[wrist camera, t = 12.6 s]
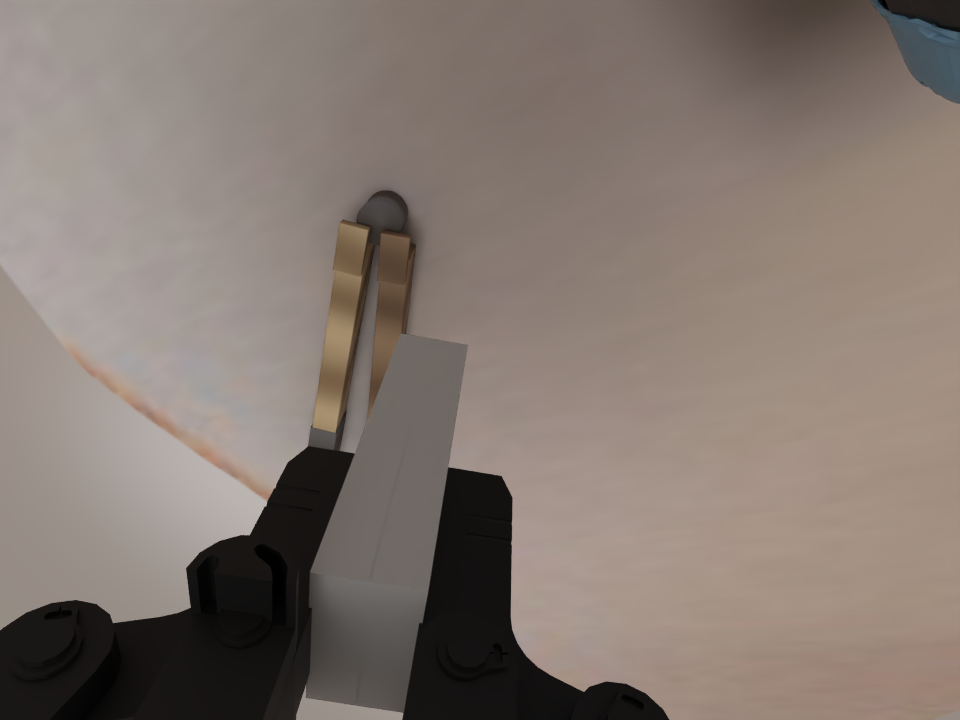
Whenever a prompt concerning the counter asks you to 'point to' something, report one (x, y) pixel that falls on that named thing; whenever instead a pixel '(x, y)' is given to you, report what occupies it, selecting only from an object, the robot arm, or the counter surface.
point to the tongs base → (388, 277)
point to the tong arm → (341, 333)
